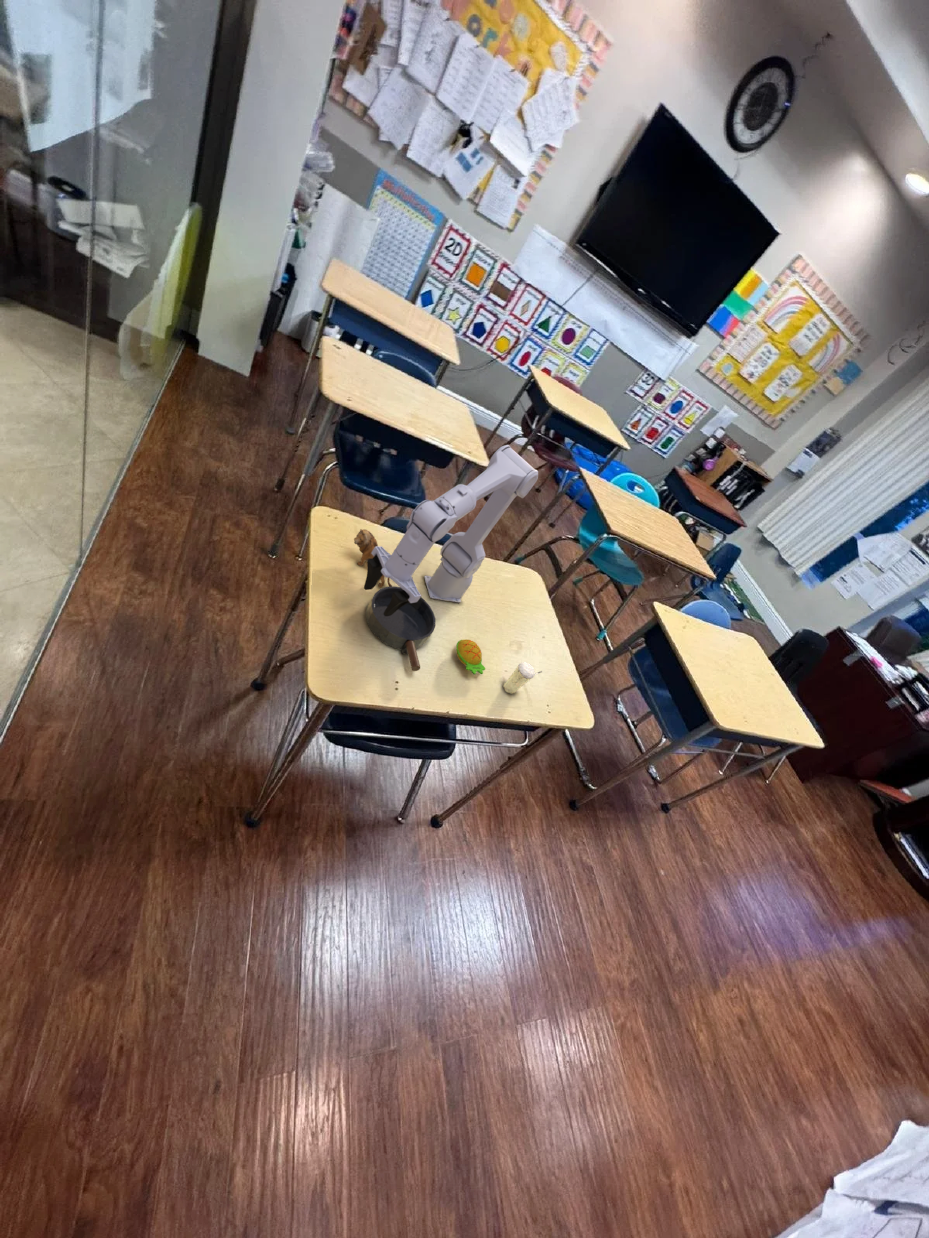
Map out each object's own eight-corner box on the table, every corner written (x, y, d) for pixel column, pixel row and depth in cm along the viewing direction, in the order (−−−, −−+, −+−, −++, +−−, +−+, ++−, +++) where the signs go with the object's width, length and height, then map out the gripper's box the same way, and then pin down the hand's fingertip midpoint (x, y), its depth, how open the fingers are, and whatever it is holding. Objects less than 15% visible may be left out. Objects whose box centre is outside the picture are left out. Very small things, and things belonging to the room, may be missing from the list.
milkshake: (518, 700, 126) (541, 678, 120) (499, 691, 125) (522, 668, 119) (520, 687, 130) (542, 664, 123) (502, 677, 129) (523, 654, 122)
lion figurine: (342, 555, 129) (354, 529, 123) (355, 548, 133) (367, 523, 127) (385, 593, 128) (399, 568, 122) (397, 585, 132) (411, 561, 126)
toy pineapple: (469, 646, 130) (479, 633, 127) (484, 679, 125) (495, 667, 122) (446, 646, 126) (456, 633, 123) (461, 681, 121) (472, 668, 118)
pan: (420, 601, 132) (427, 591, 130) (435, 652, 123) (442, 642, 120) (361, 593, 124) (366, 581, 121) (371, 647, 114) (377, 636, 112)
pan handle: (400, 649, 118) (407, 639, 116) (408, 650, 119) (415, 639, 117) (406, 676, 114) (413, 665, 111) (414, 676, 115) (421, 666, 113)
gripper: (374, 530, 102) (345, 578, 108) (416, 582, 97) (382, 629, 104) (398, 530, 107) (369, 576, 114) (439, 579, 103) (406, 624, 110)
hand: (377, 601), depth 109 cm, fingers open, 7 cm apart
